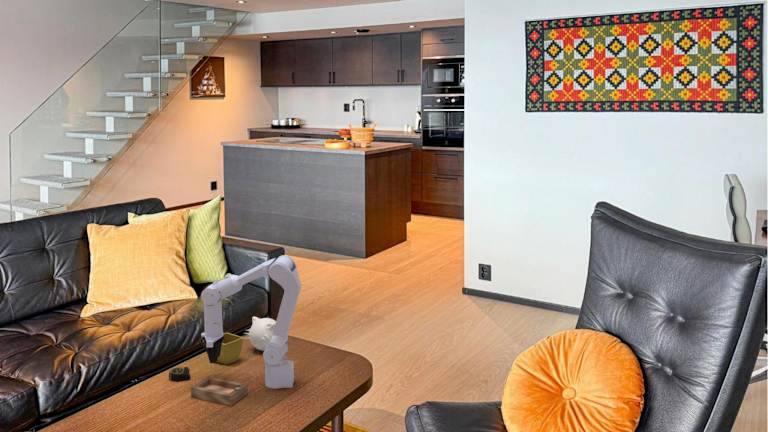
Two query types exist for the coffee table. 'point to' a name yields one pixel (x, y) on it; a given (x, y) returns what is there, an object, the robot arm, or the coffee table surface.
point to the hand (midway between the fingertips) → (214, 359)
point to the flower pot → (230, 348)
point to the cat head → (261, 332)
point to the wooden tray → (219, 391)
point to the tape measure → (179, 374)
